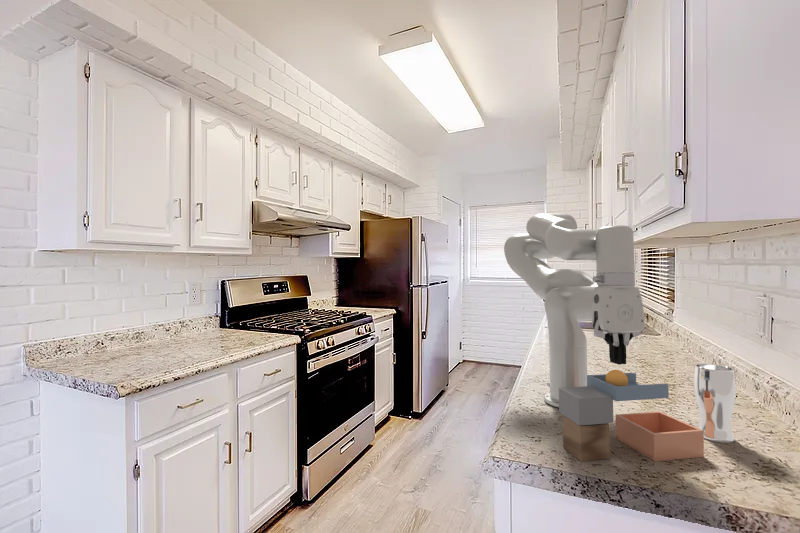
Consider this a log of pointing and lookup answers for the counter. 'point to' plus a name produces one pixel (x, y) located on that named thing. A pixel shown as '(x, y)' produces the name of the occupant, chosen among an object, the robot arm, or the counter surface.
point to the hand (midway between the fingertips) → (618, 362)
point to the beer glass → (715, 400)
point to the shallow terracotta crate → (659, 436)
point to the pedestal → (586, 440)
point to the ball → (617, 378)
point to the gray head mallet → (603, 398)
